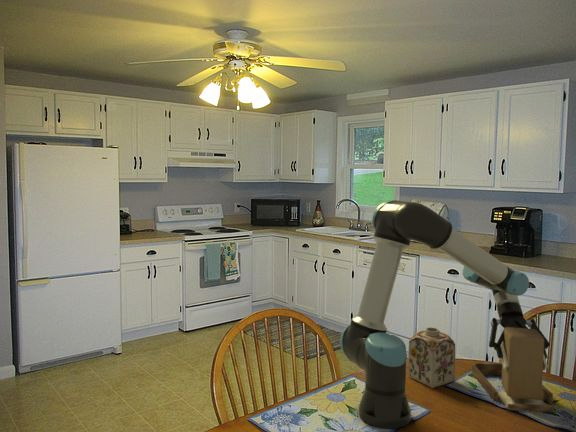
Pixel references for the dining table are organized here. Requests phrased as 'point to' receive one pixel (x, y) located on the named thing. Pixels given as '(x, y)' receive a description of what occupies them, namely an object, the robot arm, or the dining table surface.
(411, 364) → the decorative jar
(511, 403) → the bay
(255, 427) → the dining table surface
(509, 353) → the wooden block
